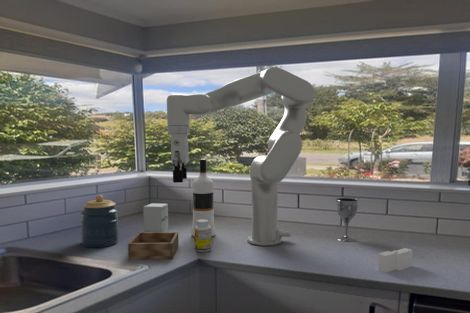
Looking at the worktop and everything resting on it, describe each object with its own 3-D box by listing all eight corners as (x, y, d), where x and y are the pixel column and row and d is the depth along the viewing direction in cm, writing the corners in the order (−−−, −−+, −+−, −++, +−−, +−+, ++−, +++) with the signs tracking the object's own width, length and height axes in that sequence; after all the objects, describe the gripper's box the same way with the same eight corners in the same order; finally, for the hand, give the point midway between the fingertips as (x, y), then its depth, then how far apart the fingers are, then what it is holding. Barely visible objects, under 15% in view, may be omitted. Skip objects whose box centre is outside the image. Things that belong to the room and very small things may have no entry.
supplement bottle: (196, 247, 133) (196, 218, 132) (212, 247, 132) (212, 218, 132) (193, 252, 127) (193, 222, 127) (209, 252, 127) (209, 222, 126)
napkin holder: (411, 263, 117) (412, 245, 117) (427, 277, 106) (428, 256, 105) (361, 262, 118) (362, 244, 118) (372, 276, 107) (372, 255, 106)
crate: (178, 246, 135) (178, 232, 134) (172, 258, 121) (172, 243, 120) (138, 246, 134) (138, 232, 134) (128, 259, 120) (128, 243, 120)
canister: (87, 238, 145) (86, 192, 144) (122, 237, 146) (121, 192, 145) (76, 248, 132) (74, 198, 131) (114, 247, 133) (113, 197, 132)
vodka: (206, 239, 142) (206, 159, 141) (186, 236, 147) (185, 159, 145) (219, 234, 150) (219, 158, 149) (200, 231, 155) (199, 157, 153)
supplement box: (161, 240, 142) (161, 206, 141) (143, 239, 143) (142, 206, 143) (168, 235, 149) (168, 203, 148) (151, 234, 151) (150, 202, 150)
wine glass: (358, 237, 145) (359, 198, 144) (355, 242, 138) (356, 201, 137) (337, 235, 148) (337, 197, 147) (333, 240, 141) (334, 200, 140)
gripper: (186, 130, 122) (187, 183, 123) (192, 131, 139) (193, 177, 140) (162, 131, 122) (164, 184, 123) (172, 131, 139) (173, 177, 140)
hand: (180, 180), depth 132 cm, fingers open, 9 cm apart
